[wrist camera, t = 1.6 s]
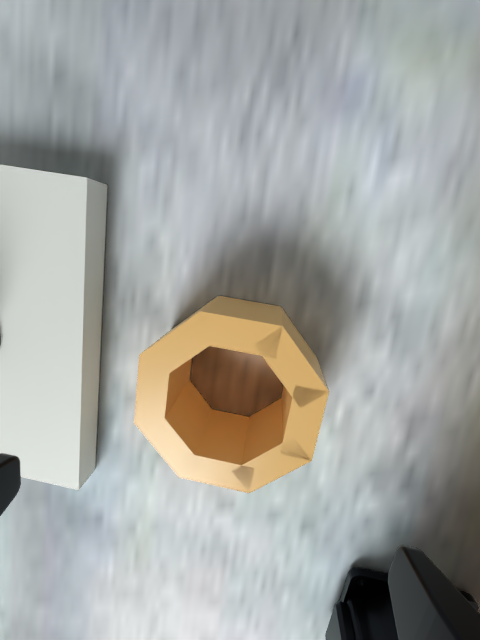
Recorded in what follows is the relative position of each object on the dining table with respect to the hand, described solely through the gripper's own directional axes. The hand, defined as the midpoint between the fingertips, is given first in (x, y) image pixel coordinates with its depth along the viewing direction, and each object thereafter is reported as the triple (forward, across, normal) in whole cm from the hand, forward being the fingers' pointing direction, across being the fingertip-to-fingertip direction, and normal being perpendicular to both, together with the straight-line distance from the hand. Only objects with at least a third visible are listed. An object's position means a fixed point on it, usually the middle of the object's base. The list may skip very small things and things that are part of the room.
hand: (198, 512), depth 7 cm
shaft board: (+8, +13, 0) cm, 15 cm away
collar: (+8, 0, 0) cm, 8 cm away
